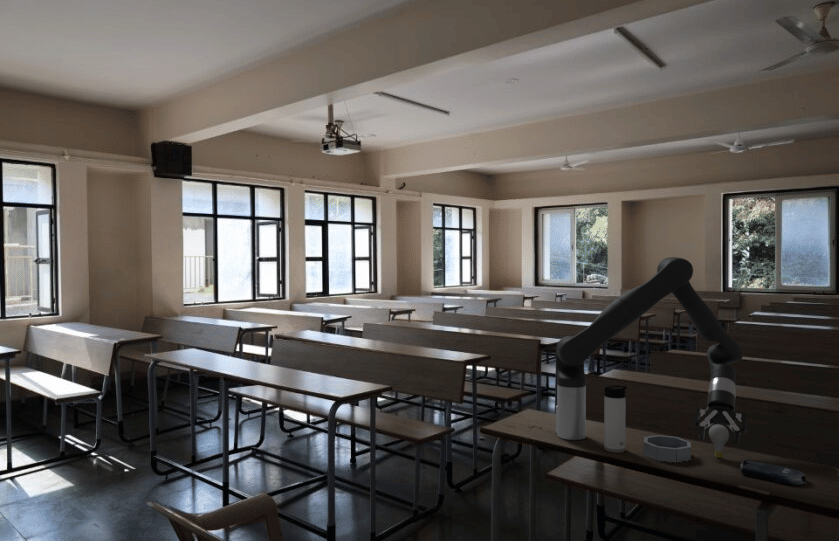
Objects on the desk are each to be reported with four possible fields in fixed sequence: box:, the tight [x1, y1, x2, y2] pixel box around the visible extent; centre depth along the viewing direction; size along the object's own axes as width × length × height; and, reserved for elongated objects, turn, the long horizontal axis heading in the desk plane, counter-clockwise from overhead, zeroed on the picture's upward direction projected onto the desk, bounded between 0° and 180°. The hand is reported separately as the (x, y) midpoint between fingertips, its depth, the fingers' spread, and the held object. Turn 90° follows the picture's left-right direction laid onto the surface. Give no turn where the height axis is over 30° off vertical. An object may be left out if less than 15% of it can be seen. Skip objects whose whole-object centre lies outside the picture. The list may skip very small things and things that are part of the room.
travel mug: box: [603, 384, 628, 454], centre depth 187 cm, size 6×7×20 cm
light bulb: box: [708, 424, 730, 459], centre depth 179 cm, size 6×5×10 cm
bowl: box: [643, 434, 692, 464], centre depth 182 cm, size 13×13×4 cm
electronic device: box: [739, 457, 807, 486], centre depth 164 cm, size 9×6×15 cm
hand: (718, 442), depth 178 cm, fingers open, 8 cm apart
